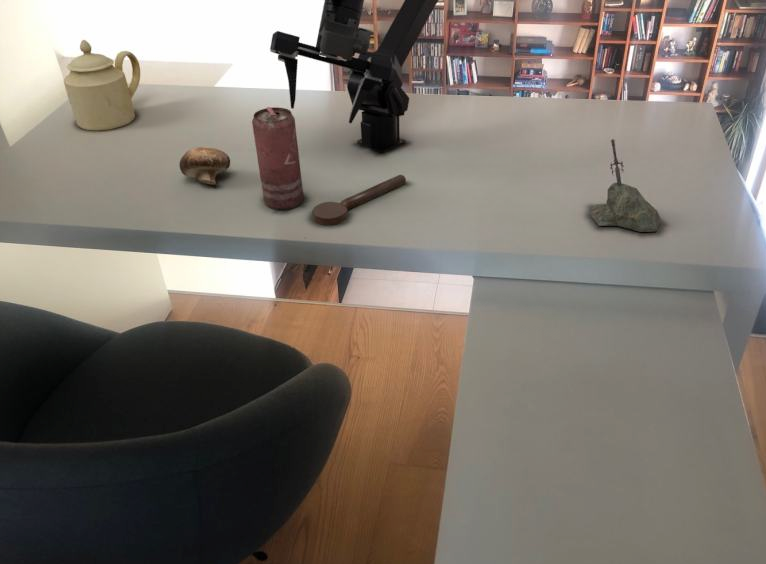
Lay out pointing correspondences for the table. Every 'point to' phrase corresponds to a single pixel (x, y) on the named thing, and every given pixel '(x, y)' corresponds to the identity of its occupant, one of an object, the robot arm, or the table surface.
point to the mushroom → (204, 164)
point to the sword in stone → (625, 206)
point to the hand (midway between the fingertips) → (321, 115)
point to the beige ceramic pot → (101, 89)
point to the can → (278, 157)
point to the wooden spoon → (352, 202)
